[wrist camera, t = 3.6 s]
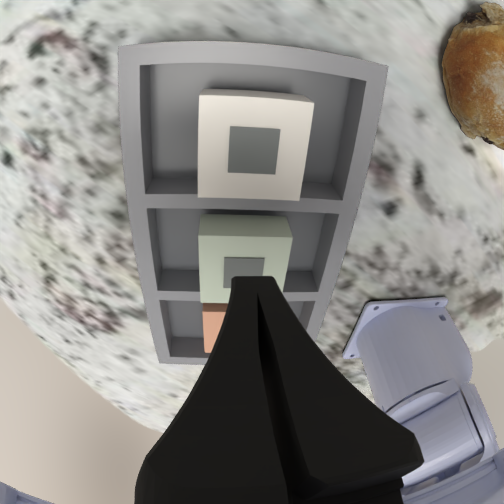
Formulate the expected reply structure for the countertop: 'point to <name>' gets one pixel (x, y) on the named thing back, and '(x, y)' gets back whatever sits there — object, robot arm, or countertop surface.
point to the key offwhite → (252, 144)
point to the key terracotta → (212, 323)
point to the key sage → (240, 251)
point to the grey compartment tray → (191, 207)
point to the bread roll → (477, 74)
